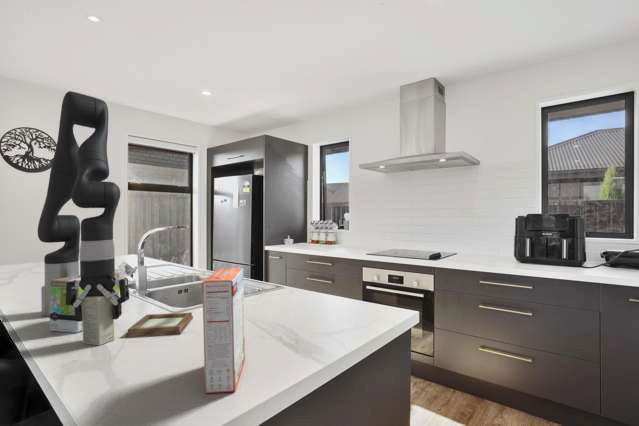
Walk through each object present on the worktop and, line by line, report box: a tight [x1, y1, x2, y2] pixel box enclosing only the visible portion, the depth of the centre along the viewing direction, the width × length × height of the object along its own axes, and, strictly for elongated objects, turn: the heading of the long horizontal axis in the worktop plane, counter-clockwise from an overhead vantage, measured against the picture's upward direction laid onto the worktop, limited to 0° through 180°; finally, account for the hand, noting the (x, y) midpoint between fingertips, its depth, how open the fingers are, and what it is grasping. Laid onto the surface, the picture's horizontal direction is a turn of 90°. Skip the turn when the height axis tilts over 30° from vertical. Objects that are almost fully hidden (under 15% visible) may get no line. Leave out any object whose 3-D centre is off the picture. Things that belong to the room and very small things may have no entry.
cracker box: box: [201, 267, 246, 394], centre depth 68 cm, size 14×6×21 cm, turn 5°
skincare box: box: [82, 296, 115, 346], centre depth 87 cm, size 6×4×12 cm
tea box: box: [49, 272, 120, 334], centre depth 101 cm, size 15×10×15 cm
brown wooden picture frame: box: [125, 311, 194, 338], centre depth 97 cm, size 14×14×2 cm
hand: (98, 319), depth 87 cm, fingers open, 8 cm apart
